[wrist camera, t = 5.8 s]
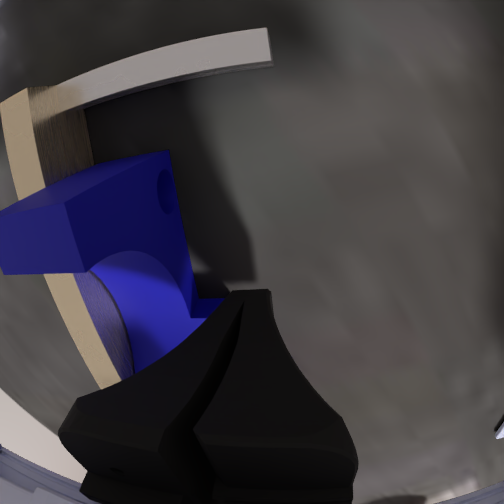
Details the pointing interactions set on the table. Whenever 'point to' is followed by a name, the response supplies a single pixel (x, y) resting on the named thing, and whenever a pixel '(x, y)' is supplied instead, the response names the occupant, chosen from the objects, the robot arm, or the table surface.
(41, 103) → the frame
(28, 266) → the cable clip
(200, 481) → the robot arm
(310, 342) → the table surface
